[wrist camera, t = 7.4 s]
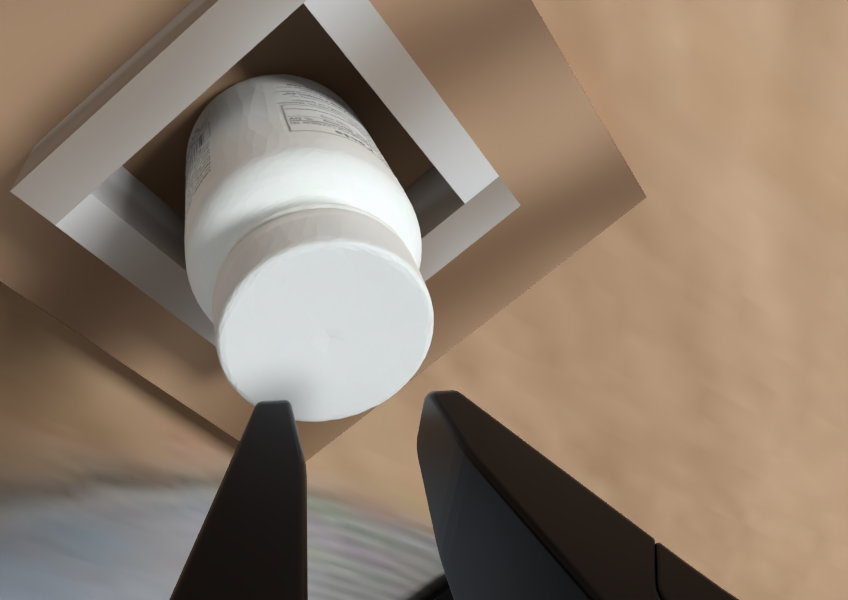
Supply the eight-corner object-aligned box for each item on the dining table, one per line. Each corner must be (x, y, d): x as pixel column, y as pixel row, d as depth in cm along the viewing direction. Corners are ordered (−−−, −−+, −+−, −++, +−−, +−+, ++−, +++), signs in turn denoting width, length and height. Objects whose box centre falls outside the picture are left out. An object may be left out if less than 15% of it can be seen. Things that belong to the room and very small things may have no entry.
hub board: (625, 181, 22) (695, 234, 19) (284, 448, 24) (297, 535, 21) (259, -432, 13) (280, -517, 10) (-243, 81, 15) (-355, 141, 12)
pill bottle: (245, 270, 19) (273, 485, 12) (147, 123, 16) (118, 300, 10) (395, 195, 19) (500, 371, 12) (321, 37, 16) (404, 157, 10)
